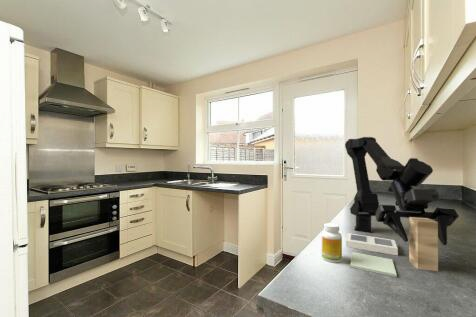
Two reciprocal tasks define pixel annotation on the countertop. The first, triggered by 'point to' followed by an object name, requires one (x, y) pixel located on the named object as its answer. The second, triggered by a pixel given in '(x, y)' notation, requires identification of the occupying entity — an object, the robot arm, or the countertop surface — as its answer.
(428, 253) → the oak post
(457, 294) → the countertop surface
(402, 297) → the countertop surface
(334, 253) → the supplement bottle
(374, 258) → the mat
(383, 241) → the label panel
